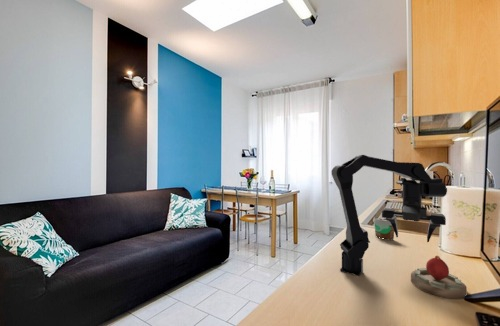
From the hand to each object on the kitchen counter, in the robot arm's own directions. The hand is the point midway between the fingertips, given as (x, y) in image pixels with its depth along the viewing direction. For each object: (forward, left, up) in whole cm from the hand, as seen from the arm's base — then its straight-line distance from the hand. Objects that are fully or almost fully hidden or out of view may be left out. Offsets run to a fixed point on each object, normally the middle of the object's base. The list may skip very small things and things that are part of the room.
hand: (412, 239), depth 85 cm
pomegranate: (+7, -7, -10) cm, 14 cm away
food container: (-15, +38, -12) cm, 43 cm away
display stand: (+7, -7, -12) cm, 16 cm away
